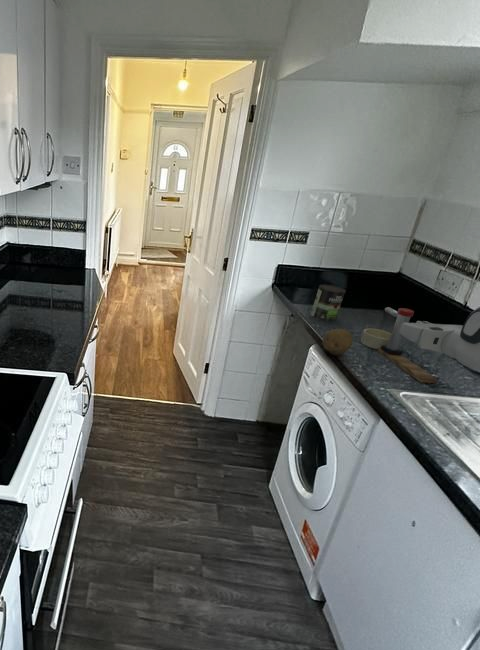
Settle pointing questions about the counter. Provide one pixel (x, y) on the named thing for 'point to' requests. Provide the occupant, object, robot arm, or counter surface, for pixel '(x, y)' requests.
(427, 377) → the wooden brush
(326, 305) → the coffee can
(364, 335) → the basin
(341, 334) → the natural sponge
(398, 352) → the tap
